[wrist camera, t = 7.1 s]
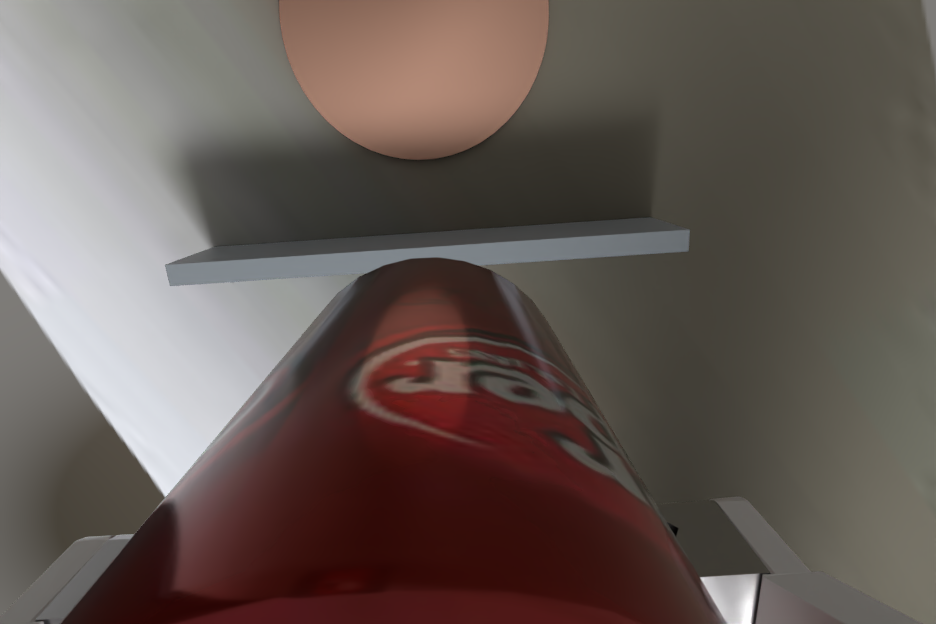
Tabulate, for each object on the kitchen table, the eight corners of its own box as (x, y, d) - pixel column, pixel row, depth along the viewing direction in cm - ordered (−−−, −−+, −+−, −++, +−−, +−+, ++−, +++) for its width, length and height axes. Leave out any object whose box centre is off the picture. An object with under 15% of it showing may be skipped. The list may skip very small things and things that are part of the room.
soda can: (366, 511, 16) (163, 1361, 5) (264, 304, 14) (-515, 912, 3) (586, 440, 16) (948, 1191, 4) (513, 214, 14) (830, 497, 2)
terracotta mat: (599, -33, 25) (601, -36, 24) (463, 205, 28) (463, 206, 27) (356, -205, 23) (354, -211, 22) (239, 73, 26) (236, 72, 25)
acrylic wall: (651, 217, 28) (689, 229, 23) (650, 235, 28) (688, 251, 24) (215, 246, 28) (164, 264, 24) (218, 264, 29) (170, 286, 24)
